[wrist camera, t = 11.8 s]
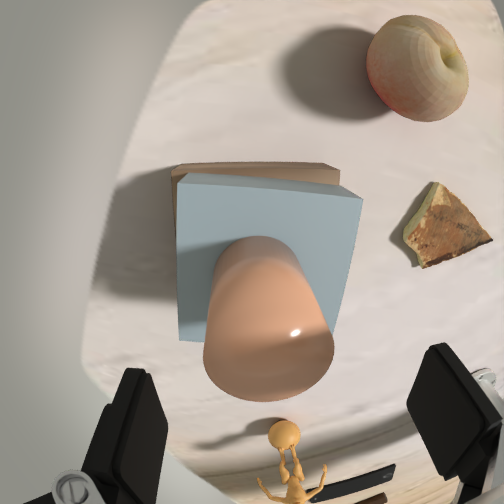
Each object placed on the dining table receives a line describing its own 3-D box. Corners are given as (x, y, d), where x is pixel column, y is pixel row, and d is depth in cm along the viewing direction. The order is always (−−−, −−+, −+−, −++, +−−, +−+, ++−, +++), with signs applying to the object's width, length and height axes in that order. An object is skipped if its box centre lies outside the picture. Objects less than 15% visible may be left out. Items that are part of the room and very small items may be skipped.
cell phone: (390, 476, 48) (391, 480, 47) (310, 500, 49) (311, 503, 48) (394, 461, 44) (396, 465, 44) (305, 488, 45) (306, 492, 44)
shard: (485, 235, 27) (495, 241, 25) (448, 290, 29) (457, 297, 28) (433, 176, 24) (444, 180, 23) (390, 243, 27) (398, 250, 25)
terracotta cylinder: (299, 310, 19) (327, 394, 12) (217, 316, 19) (212, 404, 12) (301, 232, 17) (340, 298, 10) (208, 238, 17) (193, 309, 10)
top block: (316, 313, 24) (329, 345, 20) (186, 307, 23) (179, 340, 19) (340, 185, 20) (363, 199, 16) (188, 172, 19) (177, 183, 15)
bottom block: (313, 285, 28) (326, 312, 24) (191, 288, 27) (184, 317, 23) (322, 162, 24) (340, 170, 19) (182, 163, 23) (171, 171, 19)
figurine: (312, 407, 34) (332, 489, 23) (317, 430, 36) (335, 504, 25) (246, 421, 34) (251, 504, 23) (258, 443, 37) (265, 518, 26)
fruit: (444, 88, 21) (504, 85, 13) (390, 137, 23) (447, 145, 15) (391, 17, 18) (442, -11, 11) (329, 61, 20) (370, 35, 13)
